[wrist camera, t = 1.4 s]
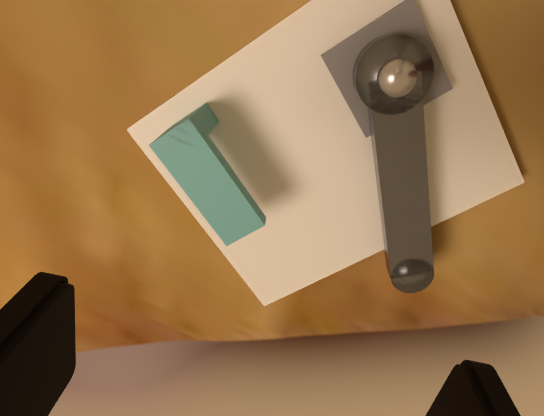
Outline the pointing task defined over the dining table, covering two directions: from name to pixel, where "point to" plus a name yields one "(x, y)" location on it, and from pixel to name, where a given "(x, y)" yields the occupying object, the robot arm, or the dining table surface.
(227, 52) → the dining table surface
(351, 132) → the hinge board
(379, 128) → the link
